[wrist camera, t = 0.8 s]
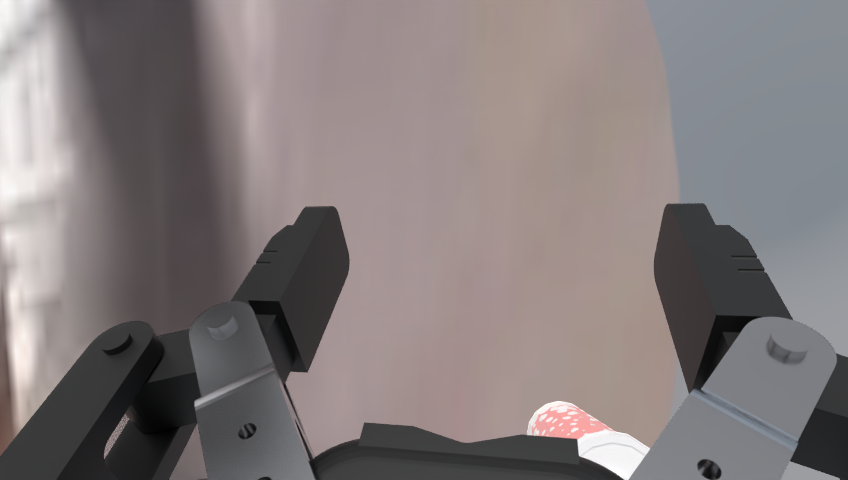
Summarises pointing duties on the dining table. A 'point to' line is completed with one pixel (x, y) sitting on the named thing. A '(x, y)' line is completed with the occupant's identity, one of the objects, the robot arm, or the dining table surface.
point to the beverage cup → (589, 437)
